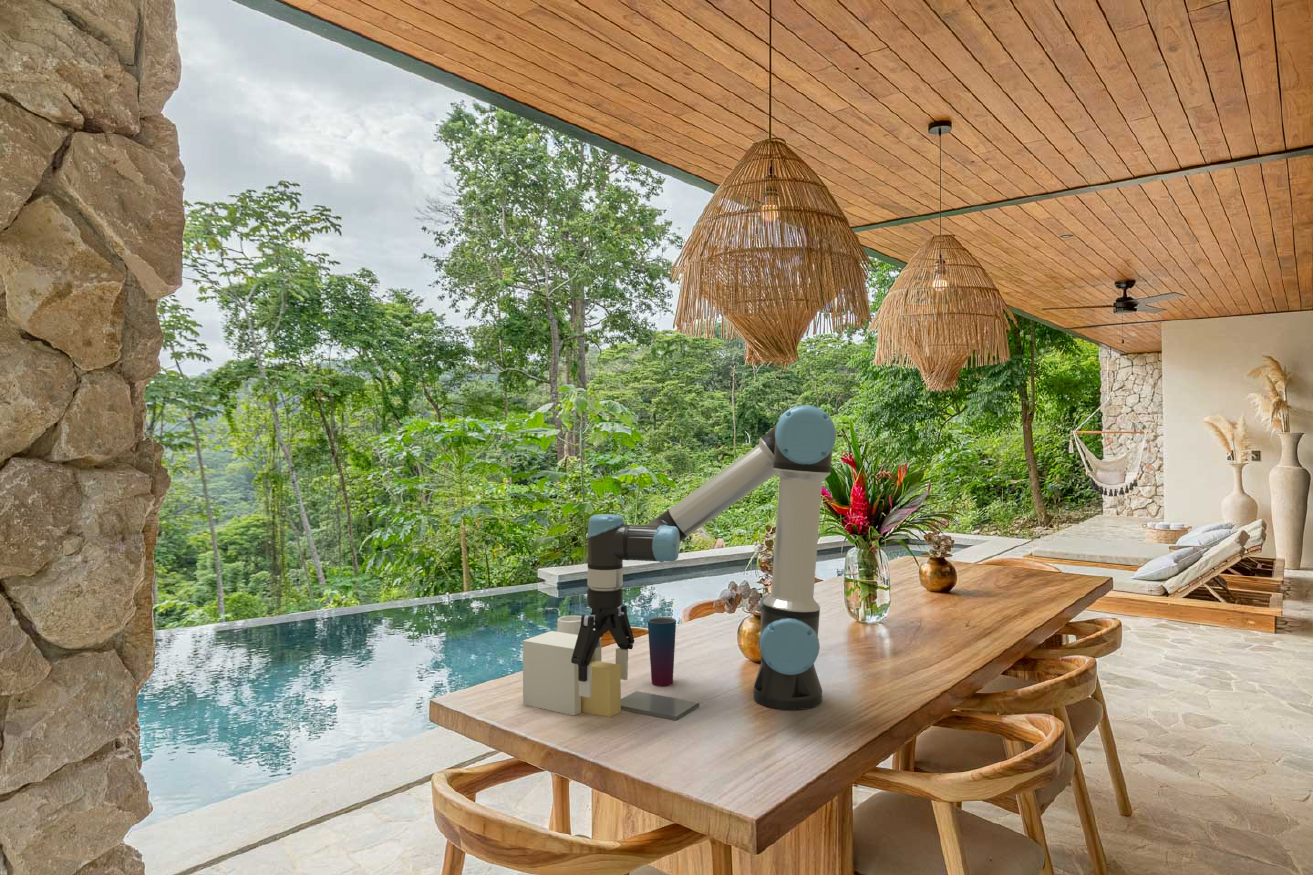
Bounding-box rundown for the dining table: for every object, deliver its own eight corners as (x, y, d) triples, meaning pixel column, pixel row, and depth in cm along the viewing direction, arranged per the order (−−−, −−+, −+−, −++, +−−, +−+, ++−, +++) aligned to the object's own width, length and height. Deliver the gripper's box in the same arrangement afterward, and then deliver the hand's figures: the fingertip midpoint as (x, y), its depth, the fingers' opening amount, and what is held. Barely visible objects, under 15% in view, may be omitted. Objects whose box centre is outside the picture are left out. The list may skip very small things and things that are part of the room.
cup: (681, 680, 187) (680, 618, 187) (669, 689, 181) (669, 624, 181) (655, 677, 190) (654, 615, 190) (643, 685, 184) (642, 621, 184)
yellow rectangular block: (620, 711, 166) (620, 664, 166) (610, 717, 163) (609, 669, 163) (568, 700, 173) (567, 655, 173) (556, 706, 170) (556, 660, 170)
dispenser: (603, 702, 172) (603, 638, 172) (576, 715, 163) (576, 649, 164) (551, 691, 180) (551, 630, 180) (523, 704, 171) (522, 640, 171)
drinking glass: (581, 685, 184) (580, 622, 184) (553, 684, 185) (553, 620, 185) (589, 677, 190) (588, 615, 190) (562, 675, 192) (562, 614, 192)
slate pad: (698, 706, 169) (698, 702, 169) (676, 720, 160) (676, 716, 160) (636, 694, 177) (636, 690, 177) (611, 707, 169) (611, 703, 169)
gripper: (622, 577, 179) (621, 669, 178) (554, 595, 157) (553, 700, 157) (650, 580, 175) (649, 674, 175) (584, 599, 153) (583, 707, 153)
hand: (603, 687), depth 166 cm, fingers open, 13 cm apart
